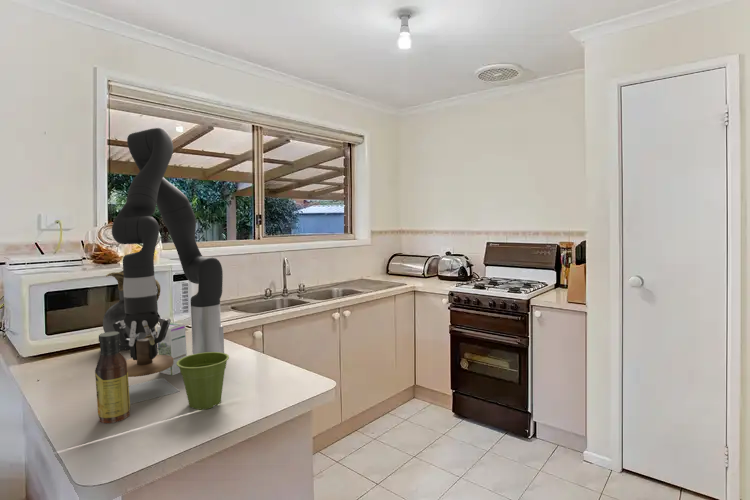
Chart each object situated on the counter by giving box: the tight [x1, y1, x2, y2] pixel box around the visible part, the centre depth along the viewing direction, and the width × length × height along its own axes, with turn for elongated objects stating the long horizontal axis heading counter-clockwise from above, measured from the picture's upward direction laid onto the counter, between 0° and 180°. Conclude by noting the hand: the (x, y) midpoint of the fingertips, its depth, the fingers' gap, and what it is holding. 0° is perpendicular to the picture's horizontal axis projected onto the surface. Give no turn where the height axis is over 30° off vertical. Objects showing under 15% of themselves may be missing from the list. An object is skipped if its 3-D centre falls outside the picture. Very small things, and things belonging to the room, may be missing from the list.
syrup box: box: [156, 322, 188, 376], centre depth 129 cm, size 6×6×14 cm
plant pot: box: [176, 352, 230, 411], centre depth 105 cm, size 12×12×11 cm
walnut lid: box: [126, 338, 173, 378], centre depth 113 cm, size 14×14×7 cm
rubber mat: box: [129, 377, 180, 405], centre depth 114 cm, size 14×14×1 cm
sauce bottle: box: [94, 331, 131, 424], centre depth 98 cm, size 6×6×20 cm
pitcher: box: [102, 266, 161, 351], centre depth 157 cm, size 11×19×30 cm, turn 132°
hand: (144, 358), depth 113 cm, fingers closed on walnut lid, 3 cm apart
